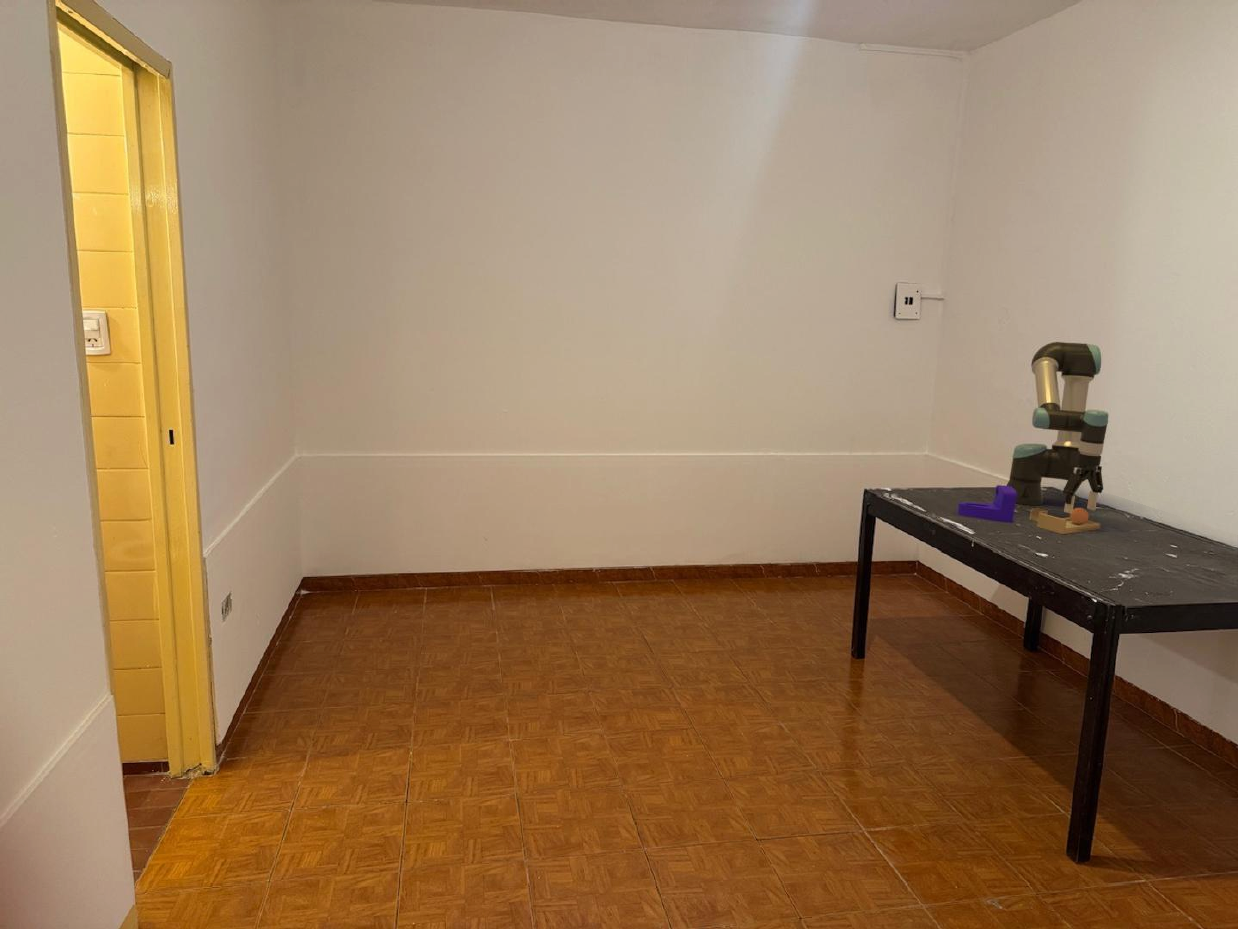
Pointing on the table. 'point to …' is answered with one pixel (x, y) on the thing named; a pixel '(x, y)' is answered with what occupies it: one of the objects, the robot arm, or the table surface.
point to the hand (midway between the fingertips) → (1079, 511)
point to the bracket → (992, 506)
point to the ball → (1079, 516)
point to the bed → (1064, 524)
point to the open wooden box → (1036, 513)
